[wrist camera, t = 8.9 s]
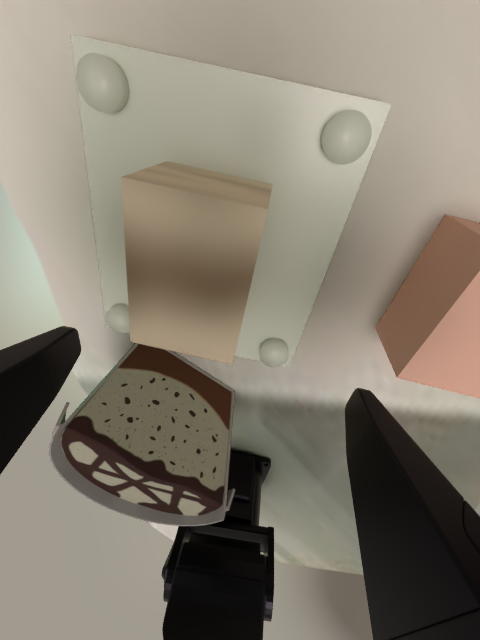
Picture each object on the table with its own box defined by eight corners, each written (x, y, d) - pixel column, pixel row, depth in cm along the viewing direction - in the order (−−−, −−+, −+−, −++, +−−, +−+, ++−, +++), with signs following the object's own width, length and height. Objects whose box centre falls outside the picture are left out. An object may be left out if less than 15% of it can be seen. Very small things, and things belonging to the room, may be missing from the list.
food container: (100, 362, 26) (16, 472, 18) (128, 322, 23) (42, 433, 15) (209, 426, 30) (181, 543, 21) (247, 398, 26) (230, 523, 18)
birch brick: (243, 312, 19) (232, 364, 15) (163, 294, 19) (130, 341, 15) (272, 184, 15) (267, 209, 11) (166, 160, 15) (120, 176, 11)
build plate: (288, 354, 23) (289, 375, 21) (115, 316, 23) (100, 333, 21) (382, 105, 13) (397, 103, 12) (89, 41, 14) (58, 28, 12)
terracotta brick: (448, 345, 21) (489, 400, 17) (374, 326, 21) (396, 377, 16) (539, 238, 16) (626, 278, 12) (444, 213, 16) (498, 245, 12)
